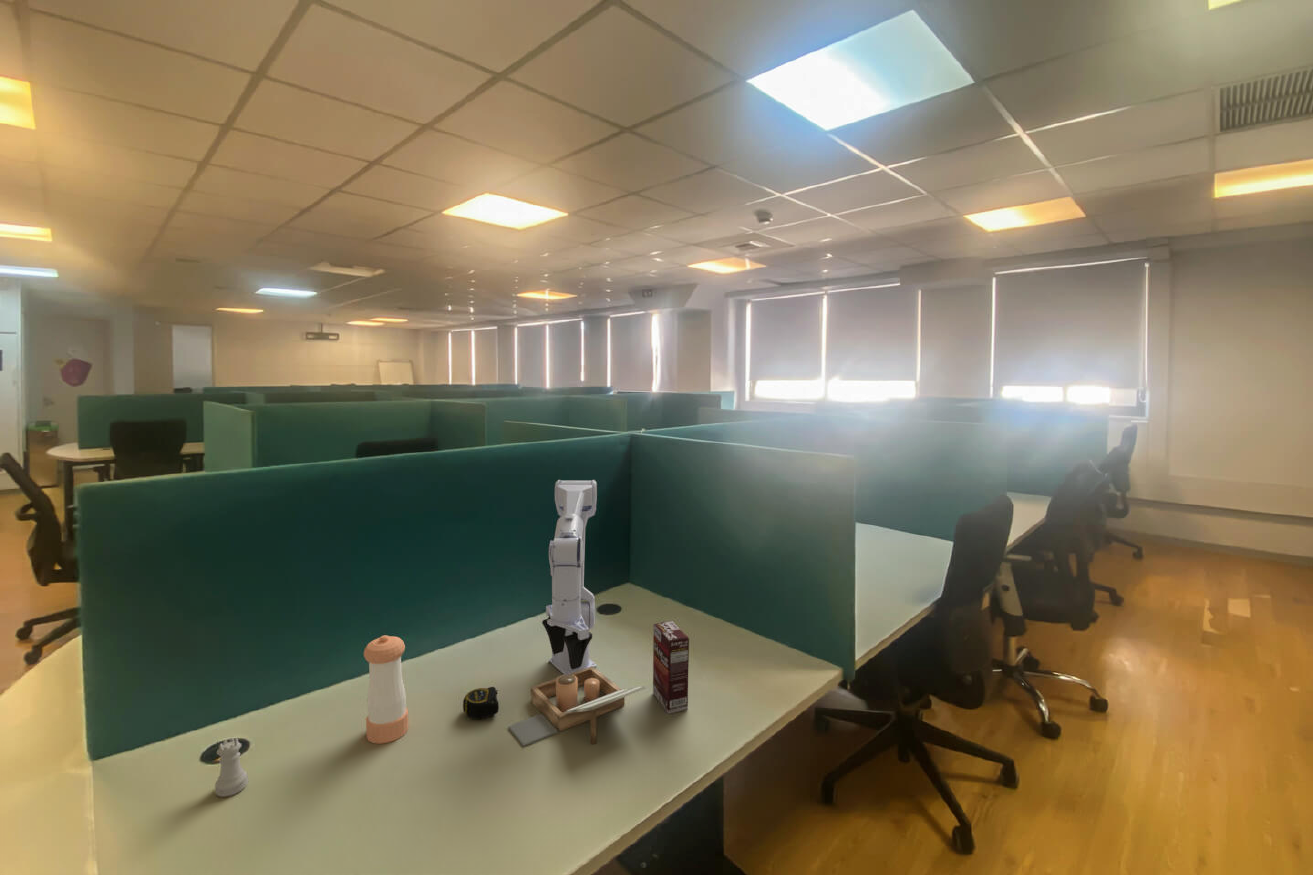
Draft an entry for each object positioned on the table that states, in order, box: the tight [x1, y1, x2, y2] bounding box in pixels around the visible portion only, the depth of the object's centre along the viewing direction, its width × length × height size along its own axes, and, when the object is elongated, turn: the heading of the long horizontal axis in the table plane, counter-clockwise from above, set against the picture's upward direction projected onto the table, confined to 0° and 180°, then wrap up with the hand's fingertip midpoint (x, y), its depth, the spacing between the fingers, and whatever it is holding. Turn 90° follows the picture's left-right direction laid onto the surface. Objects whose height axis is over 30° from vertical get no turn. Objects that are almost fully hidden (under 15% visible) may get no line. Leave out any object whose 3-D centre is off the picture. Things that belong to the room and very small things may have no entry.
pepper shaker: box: [363, 634, 410, 745], centre depth 108 cm, size 7×7×19 cm
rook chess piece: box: [214, 737, 249, 798], centre depth 93 cm, size 4×4×8 cm
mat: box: [508, 712, 559, 747], centre depth 110 cm, size 7×7×1 cm
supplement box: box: [652, 620, 690, 715], centre depth 119 cm, size 9×5×16 cm, turn 23°
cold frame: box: [530, 666, 646, 745], centre depth 115 cm, size 22×15×9 cm
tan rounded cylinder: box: [583, 678, 600, 702], centre depth 121 cm, size 3×3×4 cm
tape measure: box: [462, 686, 500, 720], centre depth 116 cm, size 7×7×4 cm
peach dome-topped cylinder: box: [555, 674, 579, 713], centre depth 117 cm, size 4×4×6 cm
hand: (566, 659), depth 117 cm, fingers open, 7 cm apart
